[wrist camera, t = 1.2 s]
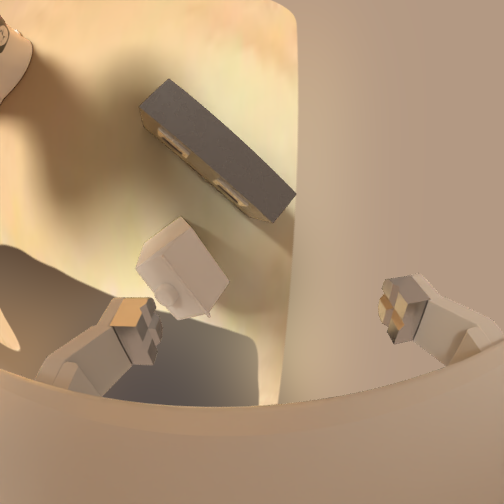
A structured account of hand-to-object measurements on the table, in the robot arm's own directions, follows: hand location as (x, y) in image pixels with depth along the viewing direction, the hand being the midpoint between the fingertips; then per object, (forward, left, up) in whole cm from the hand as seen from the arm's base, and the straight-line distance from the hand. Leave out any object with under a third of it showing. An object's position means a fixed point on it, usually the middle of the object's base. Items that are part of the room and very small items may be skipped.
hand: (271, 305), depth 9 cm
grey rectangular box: (+4, +9, -34) cm, 35 cm away
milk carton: (-2, -4, -34) cm, 34 cm away
